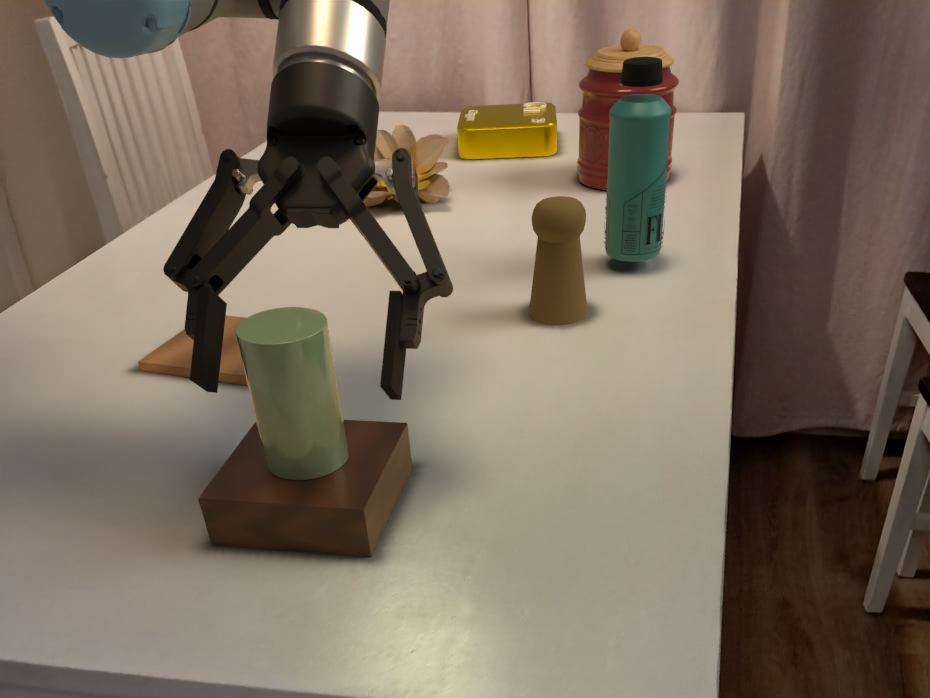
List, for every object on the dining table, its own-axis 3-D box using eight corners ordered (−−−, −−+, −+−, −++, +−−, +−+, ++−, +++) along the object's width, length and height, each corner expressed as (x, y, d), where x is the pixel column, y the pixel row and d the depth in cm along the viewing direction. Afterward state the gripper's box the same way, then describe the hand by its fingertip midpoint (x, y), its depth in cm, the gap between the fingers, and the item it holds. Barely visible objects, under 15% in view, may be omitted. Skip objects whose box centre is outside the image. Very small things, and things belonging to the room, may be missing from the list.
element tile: (463, 135, 150) (461, 102, 147) (555, 131, 150) (555, 98, 146) (457, 161, 139) (455, 125, 136) (557, 156, 138) (557, 121, 135)
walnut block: (211, 545, 66) (197, 498, 64) (270, 459, 75) (260, 415, 72) (371, 557, 64) (363, 509, 62) (412, 468, 73) (407, 422, 70)
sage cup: (250, 473, 66) (217, 338, 59) (292, 433, 70) (265, 303, 63) (324, 486, 64) (299, 348, 57) (362, 444, 68) (343, 311, 62)
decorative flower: (332, 209, 118) (328, 119, 114) (342, 204, 128) (338, 122, 124) (449, 211, 119) (449, 122, 114) (449, 207, 129) (450, 125, 124)
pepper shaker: (590, 324, 92) (594, 207, 85) (530, 326, 92) (528, 211, 85) (584, 300, 97) (588, 188, 89) (527, 303, 97) (525, 191, 89)
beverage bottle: (647, 279, 100) (662, 66, 87) (591, 270, 103) (598, 62, 90) (670, 260, 104) (688, 53, 91) (617, 251, 107) (626, 50, 94)
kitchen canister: (572, 193, 125) (574, 39, 113) (581, 166, 134) (584, 21, 122) (669, 193, 122) (682, 36, 111) (672, 165, 132) (684, 18, 120)
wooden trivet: (140, 371, 89) (137, 361, 88) (209, 322, 97) (207, 312, 97) (247, 386, 85) (244, 375, 85) (309, 333, 94) (307, 324, 93)
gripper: (509, 122, 66) (482, 413, 65) (186, 126, 70) (156, 400, 69) (493, 50, 59) (462, 377, 58) (134, 59, 63) (99, 364, 62)
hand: (295, 390), depth 63 cm, fingers open, 13 cm apart
